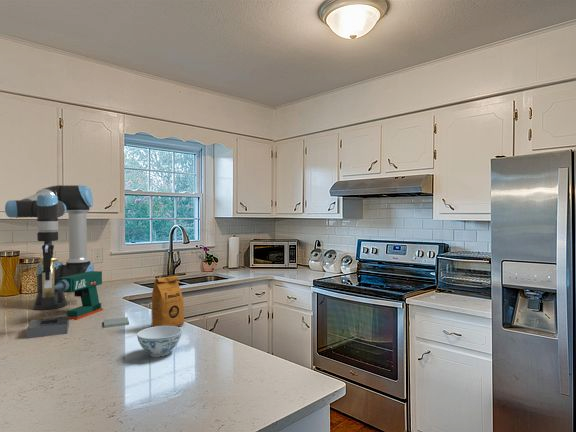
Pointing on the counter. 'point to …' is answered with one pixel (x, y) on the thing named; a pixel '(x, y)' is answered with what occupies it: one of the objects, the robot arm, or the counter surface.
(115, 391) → the counter surface
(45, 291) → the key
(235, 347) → the counter surface
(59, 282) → the power tool
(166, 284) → the coffee package
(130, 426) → the counter surface
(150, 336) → the chinaware
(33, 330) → the chuck block
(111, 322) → the pad
